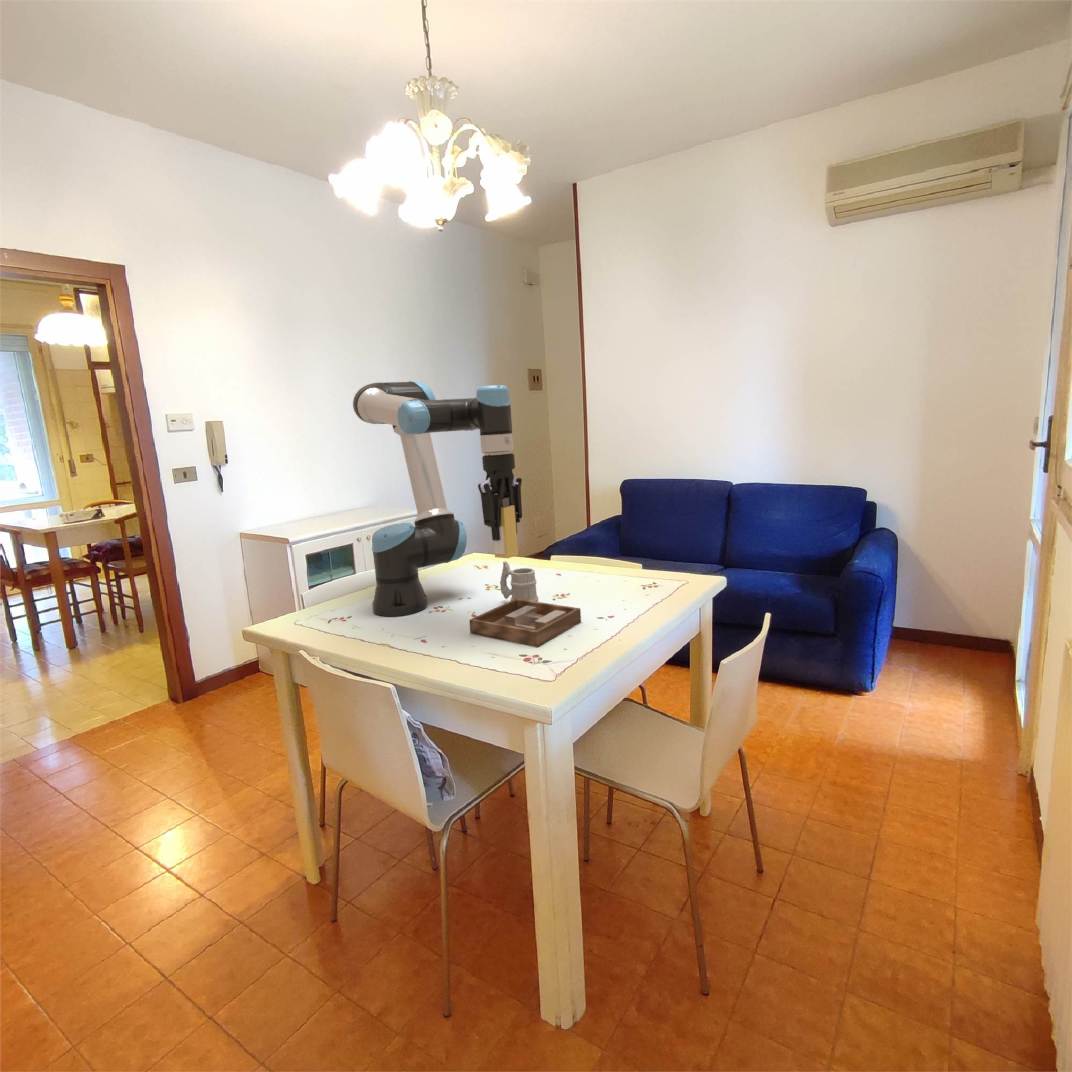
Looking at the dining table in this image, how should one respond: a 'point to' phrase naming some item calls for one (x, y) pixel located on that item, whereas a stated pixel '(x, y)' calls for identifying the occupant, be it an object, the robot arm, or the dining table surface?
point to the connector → (508, 529)
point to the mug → (519, 583)
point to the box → (496, 628)
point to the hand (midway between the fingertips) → (506, 551)
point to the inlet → (531, 618)
